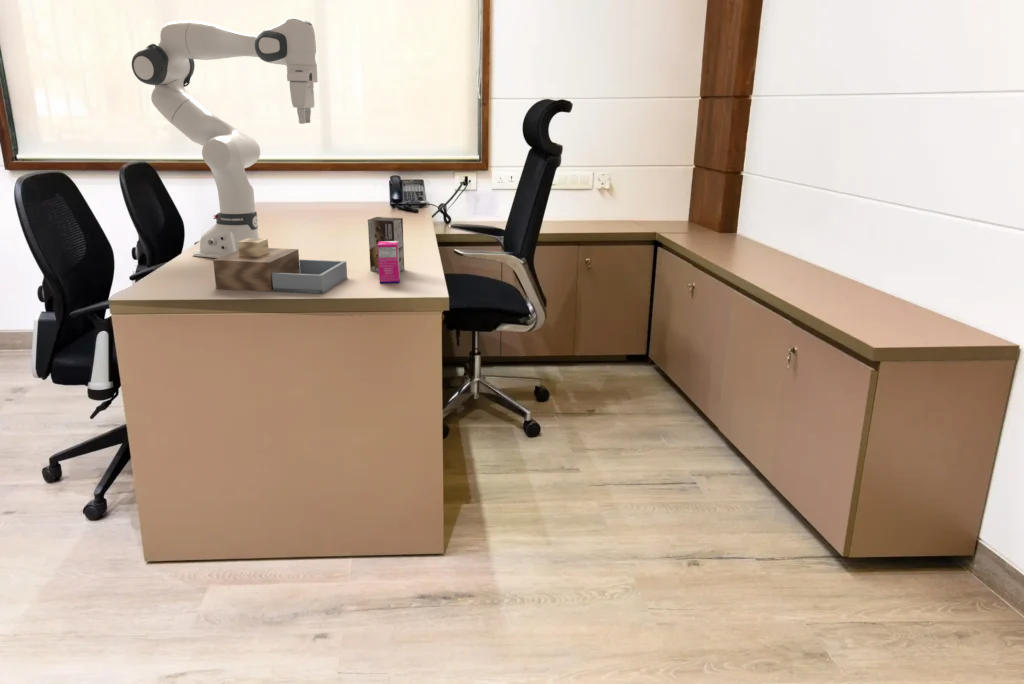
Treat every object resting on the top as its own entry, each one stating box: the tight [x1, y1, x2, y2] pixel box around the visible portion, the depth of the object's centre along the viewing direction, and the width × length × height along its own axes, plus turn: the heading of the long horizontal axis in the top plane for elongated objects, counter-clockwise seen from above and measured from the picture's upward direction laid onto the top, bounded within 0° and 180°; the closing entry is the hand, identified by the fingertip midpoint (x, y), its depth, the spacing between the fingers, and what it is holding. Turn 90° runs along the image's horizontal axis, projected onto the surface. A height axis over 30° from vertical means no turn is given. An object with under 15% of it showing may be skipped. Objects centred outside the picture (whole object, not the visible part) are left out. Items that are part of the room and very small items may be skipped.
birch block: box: [238, 238, 269, 257], centre depth 212 cm, size 6×6×4 cm
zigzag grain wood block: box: [212, 247, 300, 292], centre depth 214 cm, size 16×20×8 cm
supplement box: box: [377, 241, 401, 284], centre depth 217 cm, size 6×6×12 cm
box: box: [272, 258, 348, 295], centre depth 212 cm, size 14×20×5 cm
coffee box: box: [367, 216, 405, 272], centre depth 231 cm, size 9×6×16 cm
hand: (304, 123), depth 231 cm, fingers open, 8 cm apart
